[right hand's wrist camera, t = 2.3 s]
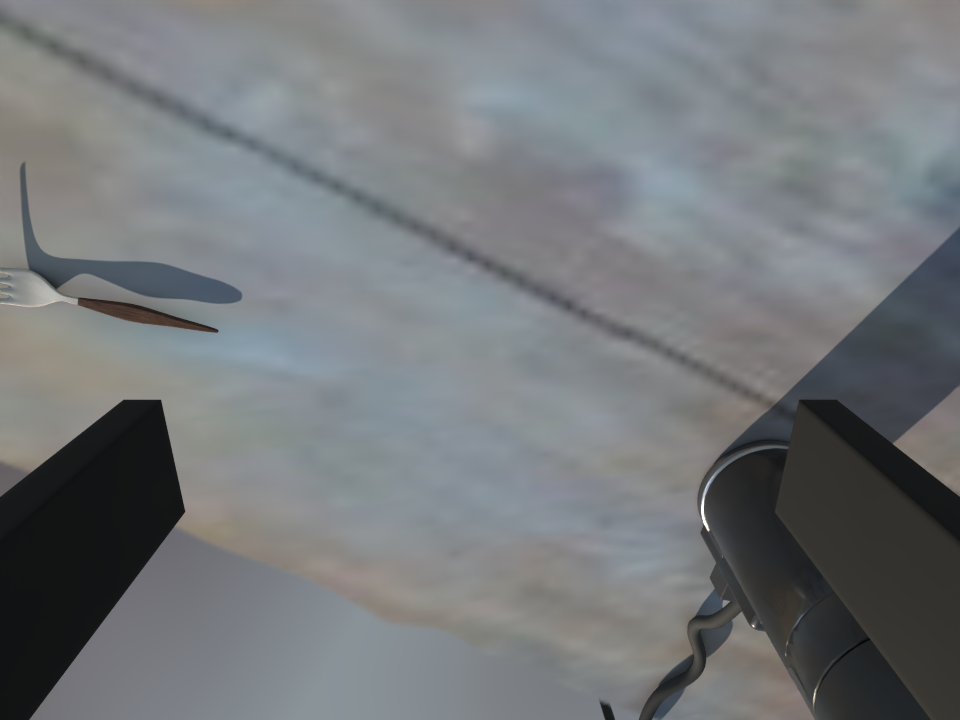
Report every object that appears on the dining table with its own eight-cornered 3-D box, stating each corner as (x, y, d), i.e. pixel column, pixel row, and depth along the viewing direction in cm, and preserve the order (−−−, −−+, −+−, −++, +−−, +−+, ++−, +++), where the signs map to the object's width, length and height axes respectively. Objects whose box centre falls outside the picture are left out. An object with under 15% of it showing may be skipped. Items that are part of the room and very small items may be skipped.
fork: (219, 346, 41) (207, 357, 40) (-23, 294, 40) (-47, 303, 38) (222, 311, 40) (210, 320, 39) (-26, 256, 39) (-51, 263, 37)
